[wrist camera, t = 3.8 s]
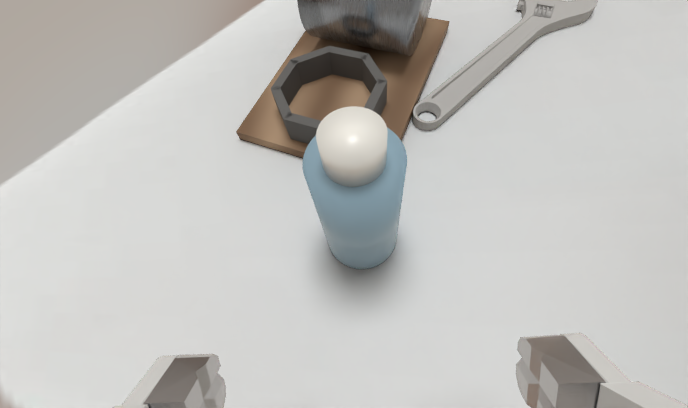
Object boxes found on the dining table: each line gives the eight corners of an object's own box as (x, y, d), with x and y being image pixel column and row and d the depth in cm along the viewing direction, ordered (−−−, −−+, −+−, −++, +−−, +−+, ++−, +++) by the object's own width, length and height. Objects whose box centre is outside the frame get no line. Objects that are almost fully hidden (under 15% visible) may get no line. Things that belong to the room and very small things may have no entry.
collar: (396, 82, 31) (397, 59, 29) (360, 159, 28) (358, 139, 25) (308, 62, 34) (303, 40, 31) (264, 131, 30) (255, 111, 28)
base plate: (447, 30, 36) (449, 21, 35) (384, 182, 28) (384, 176, 27) (327, 9, 39) (326, 0, 38) (240, 138, 31) (236, 131, 30)
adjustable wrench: (427, 140, 30) (429, 127, 28) (379, 101, 33) (379, 87, 31) (599, 12, 35) (609, -5, 34) (546, -13, 38) (553, -29, 37)
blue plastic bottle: (405, 217, 26) (425, 105, 15) (382, 279, 24) (387, 198, 13) (343, 197, 27) (322, 80, 17) (316, 254, 25) (273, 163, 15)
